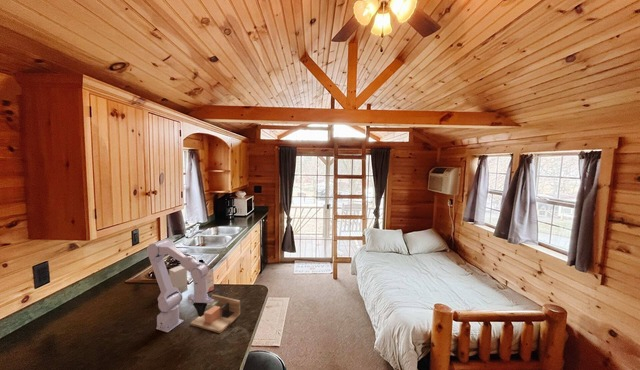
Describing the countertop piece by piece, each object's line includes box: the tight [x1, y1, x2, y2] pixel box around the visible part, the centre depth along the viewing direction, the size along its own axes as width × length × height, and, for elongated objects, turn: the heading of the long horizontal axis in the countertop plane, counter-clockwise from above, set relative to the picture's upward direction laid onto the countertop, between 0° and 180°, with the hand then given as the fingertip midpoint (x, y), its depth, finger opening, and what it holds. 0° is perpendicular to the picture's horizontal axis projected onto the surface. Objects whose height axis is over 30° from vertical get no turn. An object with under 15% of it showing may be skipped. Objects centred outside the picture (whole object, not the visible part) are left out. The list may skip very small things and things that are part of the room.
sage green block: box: [206, 299, 220, 311], centre depth 137 cm, size 5×4×5 cm
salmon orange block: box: [204, 306, 221, 324], centre depth 130 cm, size 7×4×5 cm, turn 162°
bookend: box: [221, 303, 234, 318], centre depth 134 cm, size 5×4×5 cm
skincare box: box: [168, 264, 189, 294], centre depth 158 cm, size 8×7×16 cm
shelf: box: [190, 294, 241, 334], centre depth 131 cm, size 16×18×8 cm
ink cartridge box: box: [206, 268, 215, 293], centre depth 159 cm, size 9×5×15 cm, turn 143°
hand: (201, 315), depth 122 cm, fingers closed
